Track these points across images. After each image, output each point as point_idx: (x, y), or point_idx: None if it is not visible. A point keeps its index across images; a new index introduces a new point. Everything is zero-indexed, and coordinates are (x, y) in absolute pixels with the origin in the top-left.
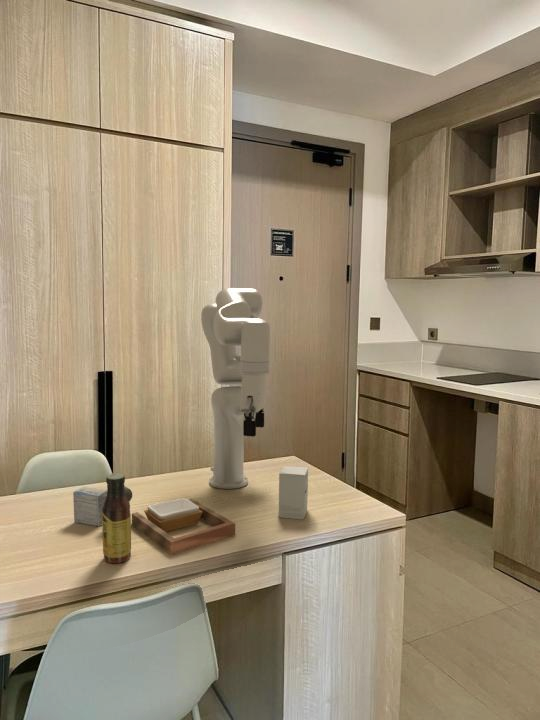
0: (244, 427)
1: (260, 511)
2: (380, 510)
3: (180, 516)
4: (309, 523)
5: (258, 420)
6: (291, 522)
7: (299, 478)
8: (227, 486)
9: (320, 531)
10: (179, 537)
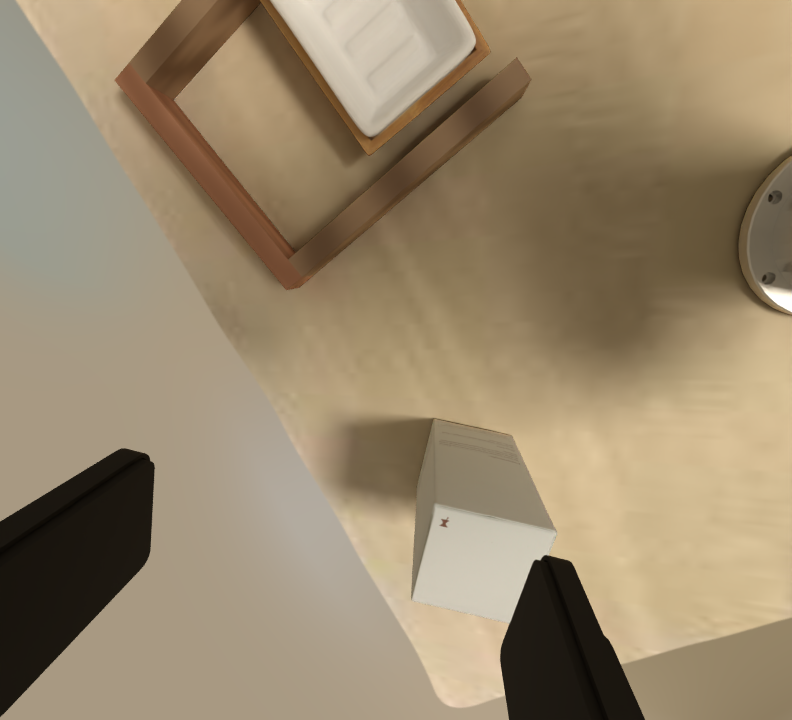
0: (40, 511)
1: (485, 364)
2: (483, 680)
3: (314, 67)
4: (391, 498)
5: (530, 694)
6: (397, 452)
7: (415, 569)
8: (748, 229)
9: (339, 518)
10: (153, 103)
